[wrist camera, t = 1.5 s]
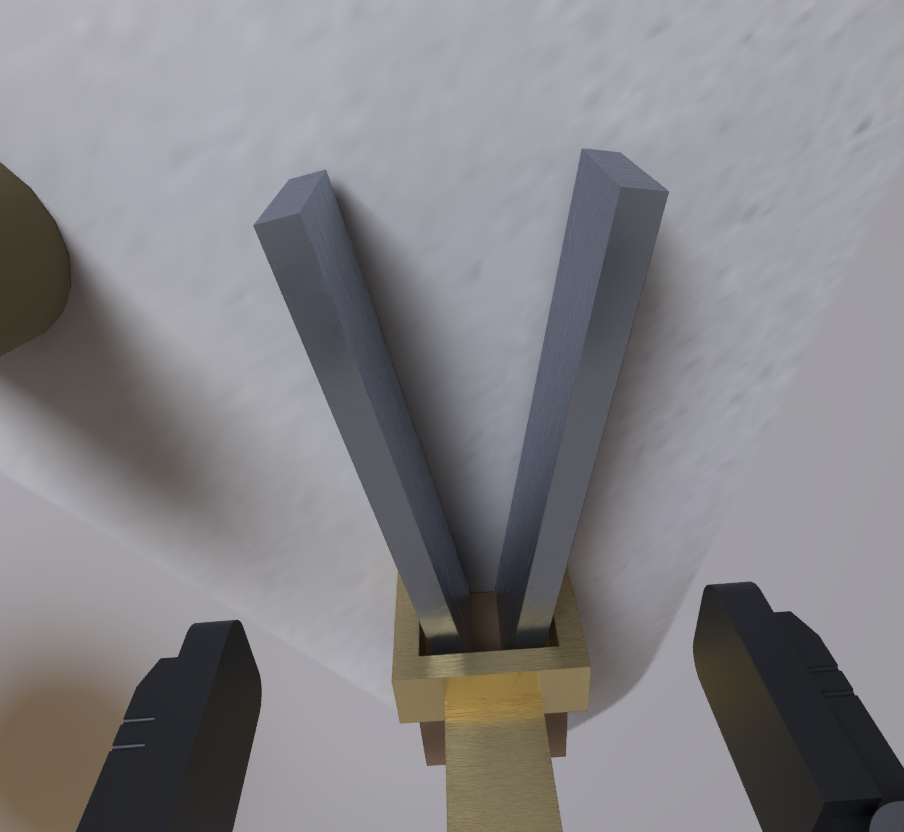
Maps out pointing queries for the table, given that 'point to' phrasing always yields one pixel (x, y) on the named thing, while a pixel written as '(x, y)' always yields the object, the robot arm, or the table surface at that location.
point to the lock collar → (494, 716)
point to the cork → (28, 265)
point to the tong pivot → (484, 641)
